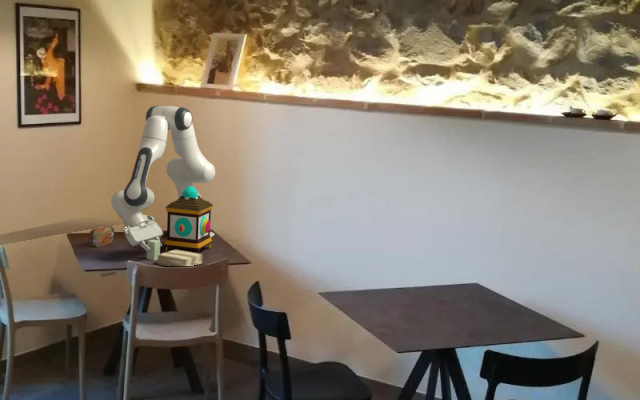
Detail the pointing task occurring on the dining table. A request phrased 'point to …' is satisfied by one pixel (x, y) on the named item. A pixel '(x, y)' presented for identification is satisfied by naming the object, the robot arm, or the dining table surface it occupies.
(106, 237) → the tin
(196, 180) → the robot arm
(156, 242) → the green block
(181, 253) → the plinth
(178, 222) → the decorative lantern
